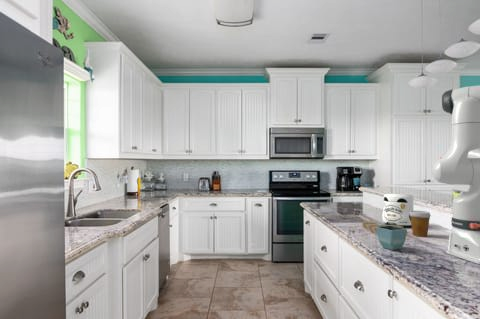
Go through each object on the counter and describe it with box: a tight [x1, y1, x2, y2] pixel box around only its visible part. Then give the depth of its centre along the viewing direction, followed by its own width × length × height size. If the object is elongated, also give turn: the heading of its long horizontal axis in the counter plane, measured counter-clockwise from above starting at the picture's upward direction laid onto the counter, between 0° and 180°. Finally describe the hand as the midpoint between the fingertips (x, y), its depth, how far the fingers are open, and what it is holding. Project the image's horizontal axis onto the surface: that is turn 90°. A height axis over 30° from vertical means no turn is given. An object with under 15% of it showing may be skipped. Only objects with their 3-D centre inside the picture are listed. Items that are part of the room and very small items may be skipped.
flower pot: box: [376, 226, 408, 251], centre depth 134 cm, size 9×9×9 cm
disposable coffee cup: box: [409, 210, 432, 238], centre depth 157 cm, size 10×10×12 cm
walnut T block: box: [361, 221, 405, 235], centre depth 166 cm, size 24×16×3 cm, turn 0°
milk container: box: [381, 193, 414, 228], centre depth 182 cm, size 17×17×18 cm
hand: (460, 200), depth 158 cm, fingers closed
